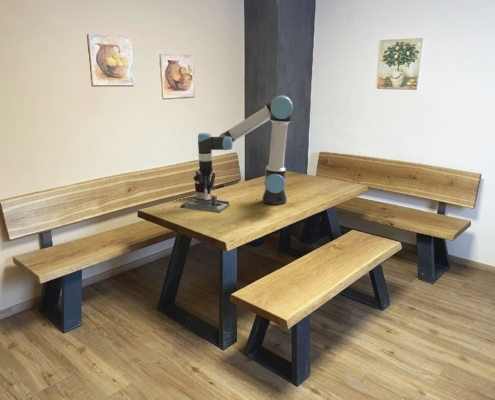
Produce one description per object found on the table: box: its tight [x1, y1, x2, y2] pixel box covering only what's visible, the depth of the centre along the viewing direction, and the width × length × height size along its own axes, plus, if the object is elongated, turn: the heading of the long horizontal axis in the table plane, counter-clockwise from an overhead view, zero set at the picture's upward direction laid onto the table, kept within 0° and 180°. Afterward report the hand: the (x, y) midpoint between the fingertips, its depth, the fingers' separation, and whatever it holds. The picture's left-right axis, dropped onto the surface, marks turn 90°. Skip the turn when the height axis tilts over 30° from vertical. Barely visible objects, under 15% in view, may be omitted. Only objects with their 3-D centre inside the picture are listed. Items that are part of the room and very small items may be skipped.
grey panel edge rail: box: [180, 198, 194, 209], centre depth 253 cm, size 2×14×2 cm, turn 158°
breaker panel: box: [184, 199, 231, 213], centre depth 249 cm, size 26×13×2 cm, turn 68°
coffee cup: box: [193, 173, 207, 198], centre depth 266 cm, size 10×10×15 cm
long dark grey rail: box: [192, 197, 230, 204], centre depth 258 cm, size 24×3×2 cm, turn 68°
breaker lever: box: [210, 192, 218, 206], centre depth 246 cm, size 2×4×7 cm, turn 158°
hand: (207, 199), depth 248 cm, fingers closed
